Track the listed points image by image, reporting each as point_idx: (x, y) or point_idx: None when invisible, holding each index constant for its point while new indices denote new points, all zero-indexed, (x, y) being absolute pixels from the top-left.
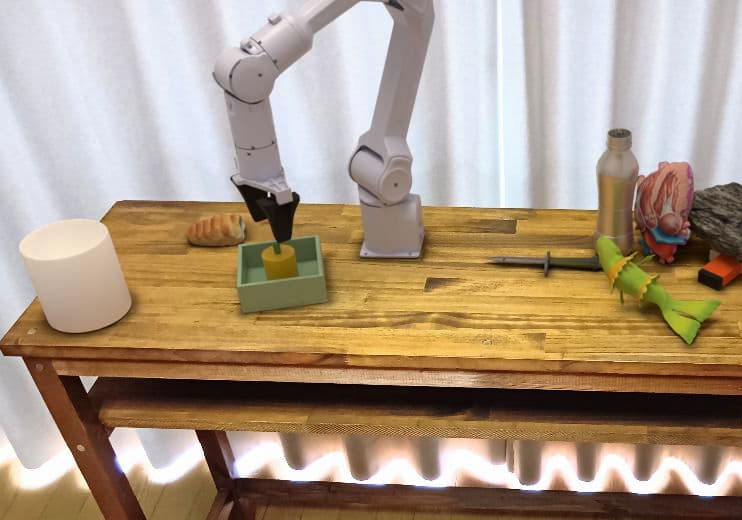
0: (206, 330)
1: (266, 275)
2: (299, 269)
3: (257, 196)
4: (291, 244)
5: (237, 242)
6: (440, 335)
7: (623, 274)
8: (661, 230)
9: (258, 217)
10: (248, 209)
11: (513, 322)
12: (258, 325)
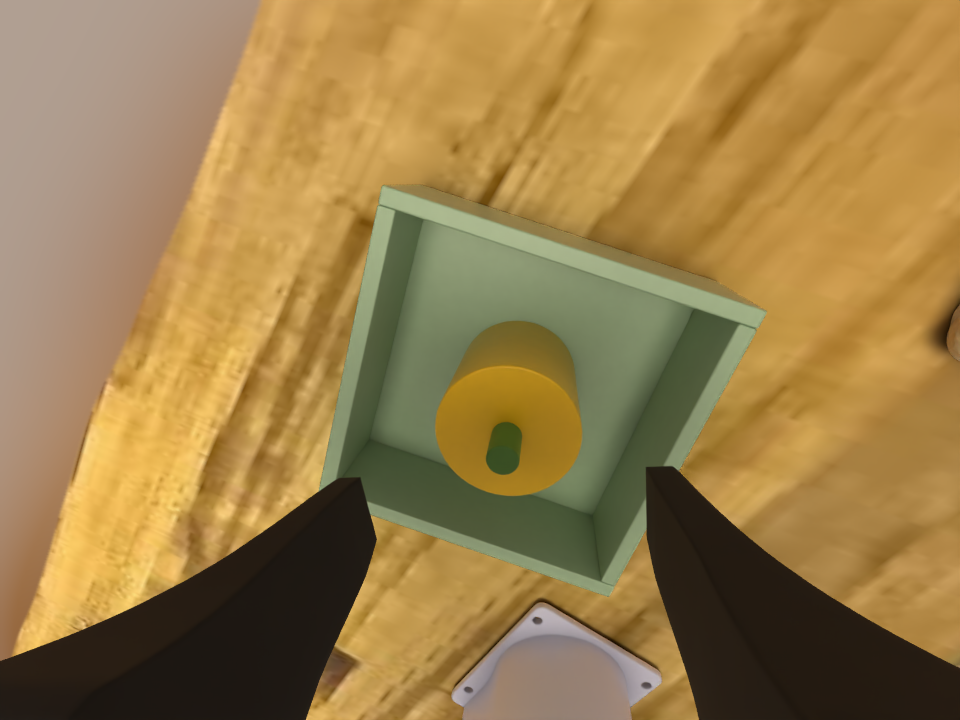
0: (375, 11)
1: (513, 335)
2: None
3: (700, 657)
4: (636, 494)
5: (952, 326)
6: (125, 574)
7: None
8: None
9: (650, 505)
10: (705, 506)
11: None
12: (326, 210)
